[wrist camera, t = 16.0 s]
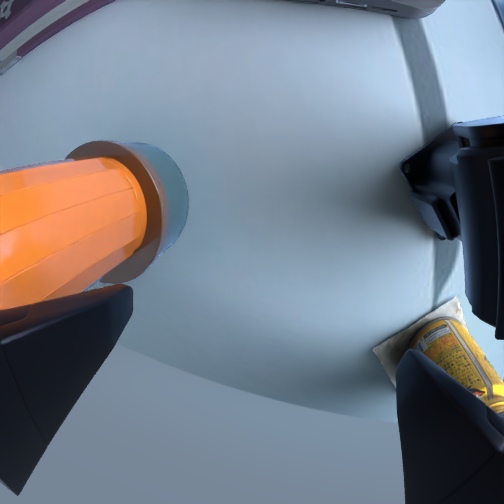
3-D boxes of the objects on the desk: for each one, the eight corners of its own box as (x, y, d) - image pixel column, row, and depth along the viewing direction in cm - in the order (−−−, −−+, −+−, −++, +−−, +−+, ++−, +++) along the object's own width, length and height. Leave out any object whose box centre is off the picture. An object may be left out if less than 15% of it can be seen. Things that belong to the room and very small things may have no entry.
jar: (141, 114, 20) (102, 109, 15) (217, 211, 21) (194, 229, 17) (72, 194, 23) (32, 206, 18) (135, 279, 24) (104, 306, 20)
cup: (104, 132, 16) (-102, 156, 3) (169, 223, 17) (-19, 359, 5) (48, 203, 18) (-106, 269, 6) (102, 282, 19) (-36, 401, 7)
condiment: (473, 349, 22) (526, 439, 11) (398, 393, 24) (424, 497, 13) (456, 294, 21) (531, 388, 9) (370, 346, 23) (400, 466, 12)
